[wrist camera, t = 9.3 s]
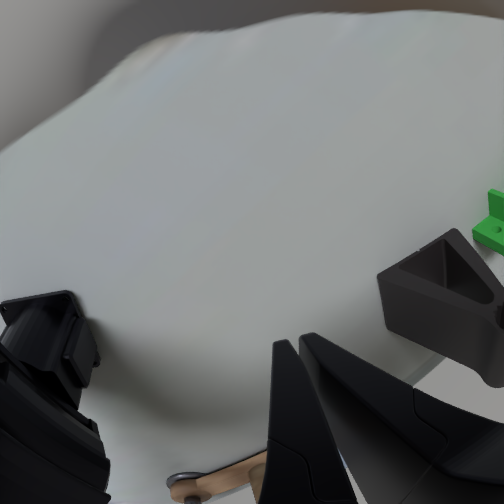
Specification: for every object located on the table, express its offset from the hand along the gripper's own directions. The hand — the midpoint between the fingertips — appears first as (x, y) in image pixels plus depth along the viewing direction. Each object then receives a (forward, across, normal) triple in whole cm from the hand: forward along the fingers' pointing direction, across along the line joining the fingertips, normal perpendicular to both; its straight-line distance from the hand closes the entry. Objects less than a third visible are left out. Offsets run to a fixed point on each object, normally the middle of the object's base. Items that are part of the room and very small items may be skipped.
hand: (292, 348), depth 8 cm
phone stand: (+12, -16, +8) cm, 22 cm away
